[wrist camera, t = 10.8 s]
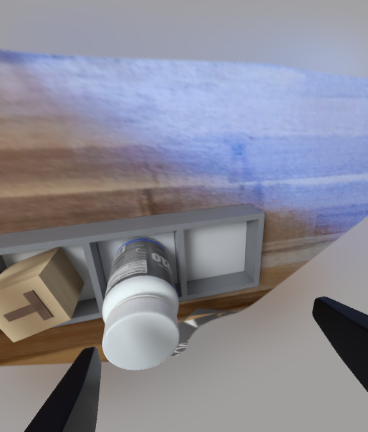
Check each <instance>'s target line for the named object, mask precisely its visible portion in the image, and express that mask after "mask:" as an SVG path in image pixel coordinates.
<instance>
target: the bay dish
mask: <svg viewBox="0 0 368 432" xmlns="http://www.w3.org/2000/svg"><path fill="white" fill-rule="evenodd" d="M264 218H265V213H264V212H263V211H261V210H259V209H257V208H255V207H254V206H252V205H250V204H241V205H233V206H224V207H216V208H208V209H200V210H192V211H184V212H176V213H168V214H159V215H151V216H143V217H135V218H127V219H119V220H111V221H103V222H94V223H86V224H78V225H70V226H62V227H54V228H46V229H38V230H30V231H21V232H13V233H5V234H0V274H1V273H2V272H3V271H4V270H5V269H6V268H7V267H8V266H9V265H11V264H13V263H16V262H18V261H21V260H24V259H26V258H29V257H32V256H34V255H37V254H40V253H43V252H45V251H48V250H51V249H53V248H56V247H62V249H63V250H64V252H65V253H66V255H67V257H68V258H69V260H70V261H71V263H72V264H73V266H74V267H75V269H76V271H77V272H78V274H79V275H80V277H81V278H82V280H83V281H84V283H85V284H84V286H83V289H82V291H81V294H80V297H79V299H78V302H77V305H76V307H75V310H74V313H73V315H72V318H71V320H68V321H66V322H63V323H61V324H58V325H56V326H61V325H66V324H71V323H76V322H81V321H86V320H91V319H96V318H101V317H103V315H102V308H103V302H104V298H105V294H106V290H107V285H108V281H109V275H110V272H111V267H112V263H113V259H114V255H115V253H116V251H117V249H118V248H119V247H120V246H121V245H122V244H123V243H124V242H126V241H128V240H130V239H133V238H137V237H147V238H151V239H154V240H156V241H158V242H159V243H160V244H161V245H162V246H163V247H164V249H165V251H166V253H167V256H168V260H169V264H170V268H171V272H172V276H173V280H174V284H175V287H176V292H177V296H178V302H182V301H187V300H192V299H197V298H202V297H207V296H212V295H217V294H222V293H227V292H232V291H237V290H242V289H247V288H252V287H257V286H259V276H260V265H261V253H262V241H263V230H264ZM56 326H53V327H56Z"/></svg>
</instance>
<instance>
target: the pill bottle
mask: <svg viewBox="0 0 368 432" xmlns="http://www.w3.org/2000/svg"><path fill="white" fill-rule="evenodd" d="M178 307H179V303H178V296H177V292H176V287H175V284H174V280H173V276H172V272H171V268H170V264H169V260H168V256H167V253H166V251H165V249H164V247H163V246H162V245H161V244H160V243H159V242H158V241H156V240H154V239H151V238H147V237H137V238H133V239H130V240H128V241H126V242H124V243H123V244H122V245H121V246H120V247H119V248H118V249H117V251H116V253H115V255H114V259H113V263H112V267H111V272H110V275H109V281H108V285H107V290H106V294H105V298H104V302H103V308H102V315H103V320H104V322H105V330H104V336H103V342H102V345H103V351H104V354H105V356H106V358H107V359H108V360H109V361H110V362H111V363H113V364H114V365H116V366H118V367H120V368H123V369H128V370H142V369H148V368H151V367H154V366H157V365H159V364H161V363H162V362H164V361H165V360H167V359H168V358H169V357H170V356H171V355H172V354H173V353H174V351H175V350H176V348H177V346H178V343H179V327H178V320H177V313H178Z"/></svg>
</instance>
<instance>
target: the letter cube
mask: <svg viewBox="0 0 368 432" xmlns="http://www.w3.org/2000/svg"><path fill="white" fill-rule="evenodd" d="M84 284H85V283H84V281H83V280H82V278H81V277H80V275H79V274H78V272H77V271H76V269H75V267H74V266H73V264H72V263H71V261H70V260H69V258H68V257H67V255H66V253H65V252H64V250H63V249H62V247H56V248H53V249H51V250H48V251H45V252H43V253H40V254H37V255H34V256H32V257H29V258H26V259H24V260H21V261H18V262H16V263H13V264H11V265H9V266H8V267H7V268H6V269H5V270H4V271H3V272H2V273H1V274H0V329H1V330H2V331H3V332H4V333H5V334H6V335H7V336H8V337H9V338H10V339H11V340H12V341H13V342H16V341H18V340H21V339H23V338H26V337H28V336H31V335H33V334H36V333H38V332H41V331H43V330H46V329H48V328H51V327H53V326H56V325H58V324H61V323H63V322H66V321H68V320H71V318H72V315H73V313H74V310H75V307H76V305H77V302H78V299H79V297H80V294H81V291H82V289H83V286H84Z"/></svg>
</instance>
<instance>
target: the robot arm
mask: <svg viewBox="0 0 368 432" xmlns="http://www.w3.org/2000/svg"><path fill="white" fill-rule="evenodd" d="M312 314H313V317H314V319H315V321H316V322H317V324H318V325H319V326H320V328H321V330H322V331H323V332H324V334H325V336H326V337H327V339H328V340H329V342H330V343H331V345H332V346H333V348H334V349H335V350H336V352H337V353H338V355H339V356H340V357H341V358H342V360H343V361H344V363H345V364H346V365H347V366H348V368H349V369H350V370H351V371H352V373H353V374H354V375H355V377H356V378H357V379H358V380H359V382H360V383H361V384H362V385H363V387H364V388H365V389H366V390H367V392H368V315H367V314H364V313H362V312H360V311H357V310H355V309H353V308H350V307H348V306H346V305H344V304H341V303H339V302H337V301H335V300H333V299H330V298H328V297H319V298H316V299H315V302H314V306H313V311H312ZM100 377H101V360H100V357H99V354H98V351H97V348H96V347H89V348H85V349H83V350H82V352H81V353H80V354H79V356H78V357H77V359H76V360H75V361H74V363H73V364H72V366H71V367H70V368H69V370H68V371H67V373H66V374H65V375H64V377H63V378H62V380H61V381H60V382H59V384H58V385H57V387H56V388H55V389H54V391H53V392H52V393H51V395H50V396H49V398H48V399H47V401H46V402H45V403H44V405H43V406H42V407H41V409H40V410H39V412H38V413H37V415H36V416H35V417H34V419H33V420H32V421H31V423H30V424H29V426H28V427H27V428H26V430H25V431H24V432H95V428H96V421H97V412H98V401H99V389H100Z"/></svg>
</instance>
